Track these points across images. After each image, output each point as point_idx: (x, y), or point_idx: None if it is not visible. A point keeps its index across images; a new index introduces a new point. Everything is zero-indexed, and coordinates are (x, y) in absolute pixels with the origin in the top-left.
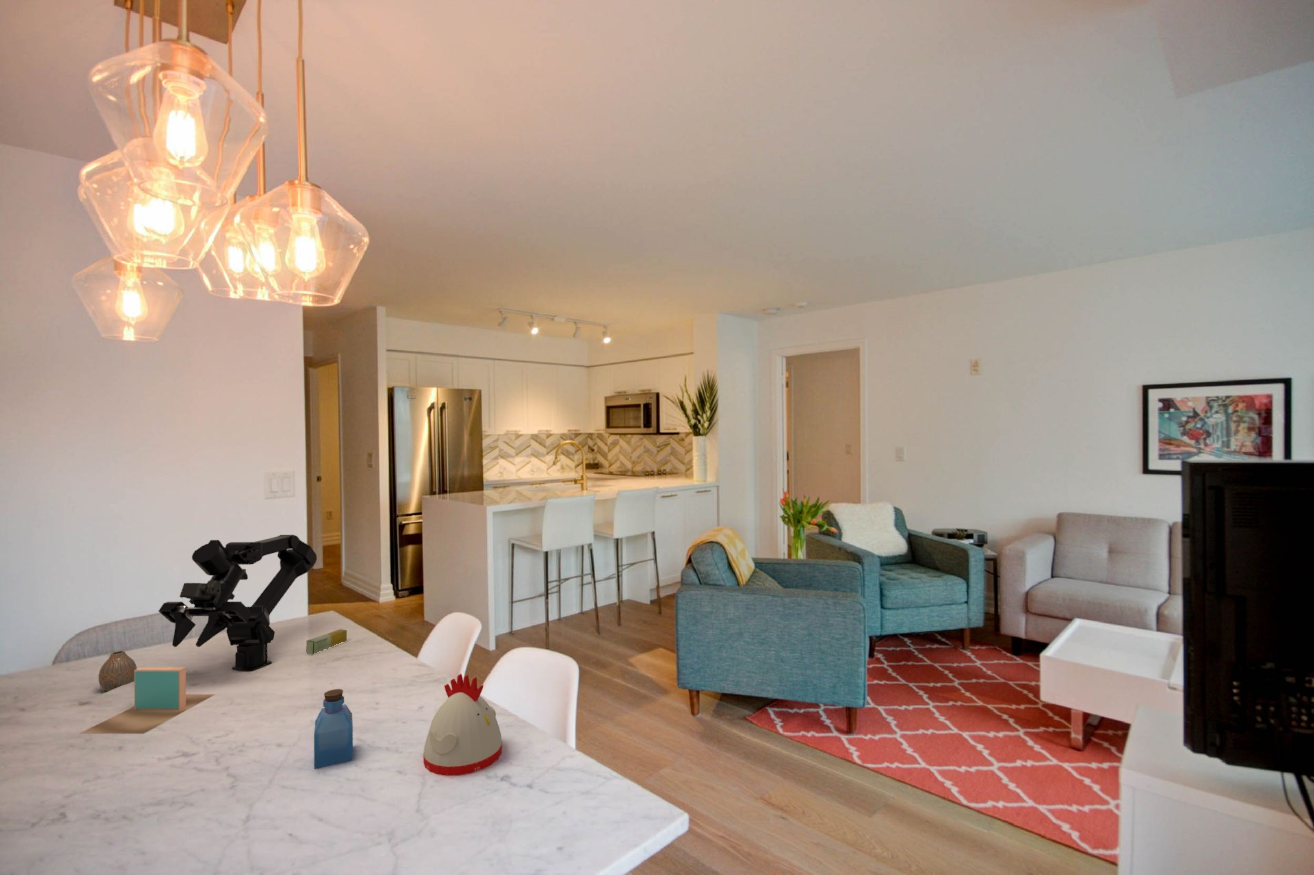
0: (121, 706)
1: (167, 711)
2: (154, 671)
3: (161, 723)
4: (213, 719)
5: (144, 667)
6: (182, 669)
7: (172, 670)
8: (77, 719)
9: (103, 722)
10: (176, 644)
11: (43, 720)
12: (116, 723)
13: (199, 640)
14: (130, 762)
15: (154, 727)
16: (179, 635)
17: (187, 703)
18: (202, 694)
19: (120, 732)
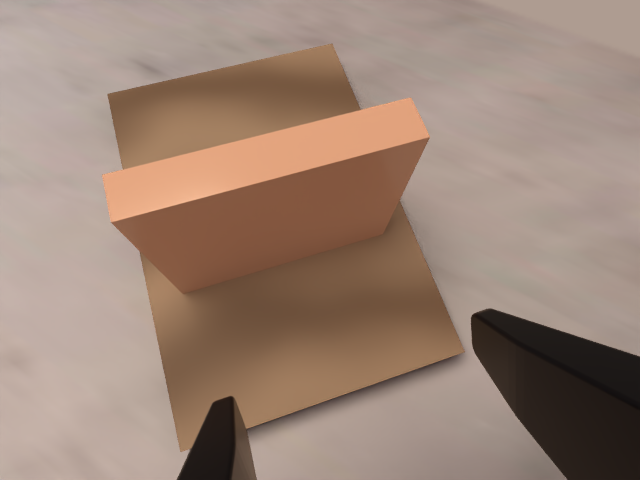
0: (537, 265)
1: None
2: (280, 132)
3: (123, 158)
4: (12, 300)
5: (404, 141)
6: (106, 196)
7: (158, 162)
8: (539, 148)
9: (350, 106)
10: (483, 349)
11: (633, 113)
12: (294, 113)
13: (202, 432)
14: (22, 26)
15: (115, 130)
16: (558, 392)
17: (211, 321)
18: (248, 426)
19: (200, 78)
